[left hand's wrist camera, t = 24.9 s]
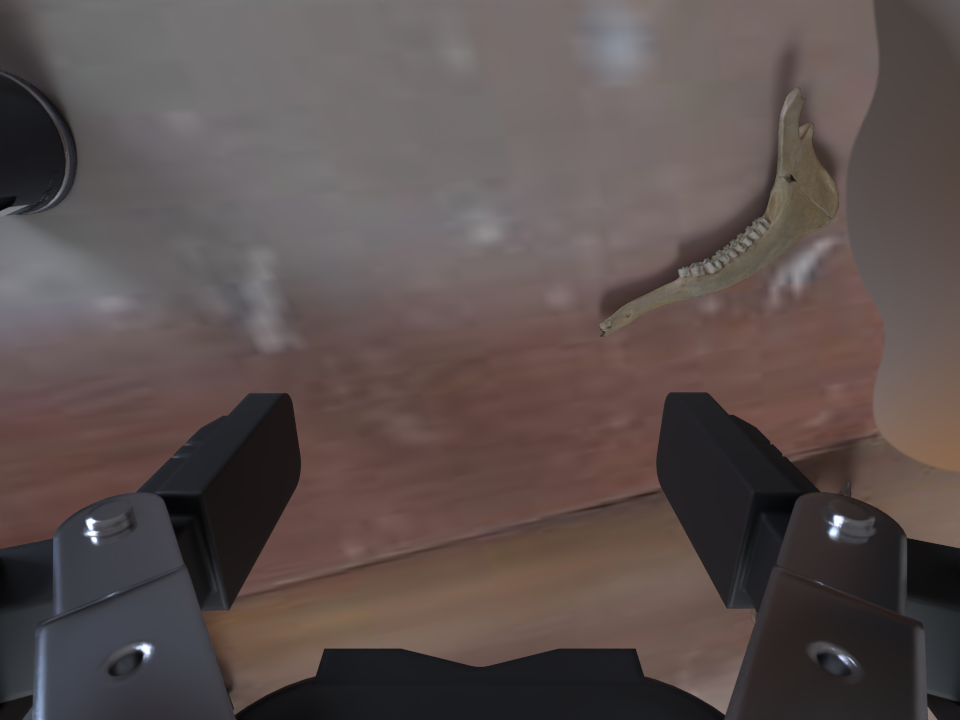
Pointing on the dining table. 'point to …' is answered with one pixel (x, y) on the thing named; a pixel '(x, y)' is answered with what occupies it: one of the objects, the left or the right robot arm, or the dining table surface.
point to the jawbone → (757, 223)
